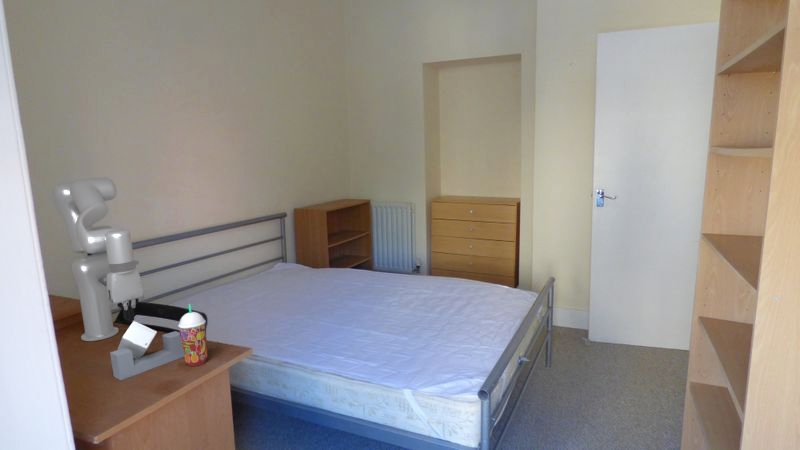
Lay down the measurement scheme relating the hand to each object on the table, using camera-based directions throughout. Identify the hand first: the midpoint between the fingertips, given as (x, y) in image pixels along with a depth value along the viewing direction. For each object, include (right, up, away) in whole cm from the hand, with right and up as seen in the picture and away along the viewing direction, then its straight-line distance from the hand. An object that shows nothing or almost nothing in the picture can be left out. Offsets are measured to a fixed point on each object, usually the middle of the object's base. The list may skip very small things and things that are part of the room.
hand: (130, 319), depth 170 cm
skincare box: (0, -10, +1) cm, 10 cm away
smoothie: (+24, -13, -4) cm, 28 cm away
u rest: (+9, -14, -5) cm, 18 cm away
